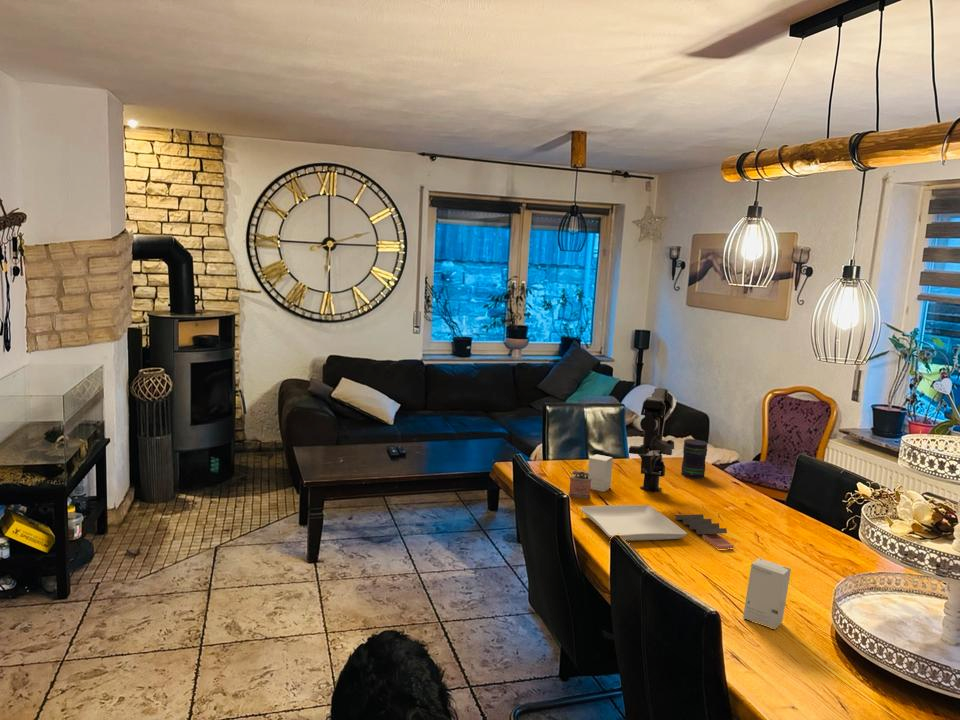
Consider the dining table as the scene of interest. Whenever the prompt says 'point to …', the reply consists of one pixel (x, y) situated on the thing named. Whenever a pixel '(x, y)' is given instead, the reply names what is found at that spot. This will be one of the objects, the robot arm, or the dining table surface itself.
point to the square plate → (633, 522)
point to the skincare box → (766, 593)
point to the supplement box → (600, 472)
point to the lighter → (580, 484)
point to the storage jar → (694, 458)
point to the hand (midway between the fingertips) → (649, 473)
